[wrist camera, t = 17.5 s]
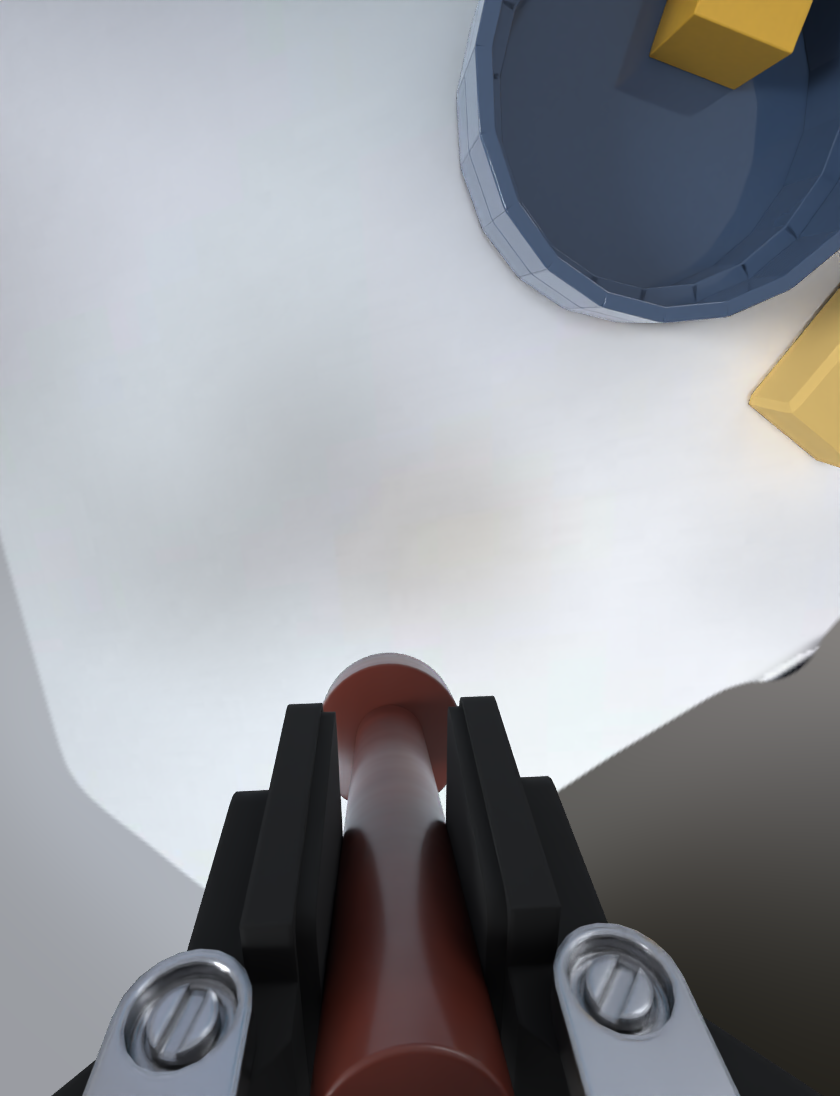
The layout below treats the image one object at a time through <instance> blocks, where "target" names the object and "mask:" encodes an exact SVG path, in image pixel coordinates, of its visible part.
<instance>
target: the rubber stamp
mask: <svg viewBox="0 0 840 1096" xmlns="http://www.w3.org/2000/svg"><path fill="white" fill-rule="evenodd" d="M749 405H750V406H751V407H753V408H754V409H755V410H756V411H757V412H759V413H760V414H761V415H762V416H764V417H765V418H766V419H767V420H768V421H770V422H771V423H772V424H773V425H775V426H776V427H777V428H778V429H779V430H781V431H782V432H783V433H784V434H785V435H787V436H788V437H789V438H790V439H792V440H793V441H794V442H795V443H796V444H798V445H799V446H800V447H801V448H802V449H804V450H805V451H806V452H807V453H809V454H810V455H811V456H812V457H813V458H815V459H816V460H818V461H821V462H824V463H827V464H830V465H833V466H836V467H839V468H840V288H839V289H838V290H837V291H836V292H835V294H834V295H833V296H832V297H831V299H830V300H829V301H828V302H827V303H826V305H825V306H824V307H823V308H822V310H821V311H820V312H819V313H818V314H817V316H816V317H815V318H814V319H813V320H812V322H811V323H810V324H809V325H808V327H807V328H806V329H805V330H804V331H803V333H802V334H801V335H800V336H799V338H798V339H797V340H796V341H795V342H794V344H793V345H792V346H791V347H790V348H789V350H788V351H787V352H786V353H785V355H784V356H783V357H782V358H781V359H780V361H779V362H778V363H777V364H776V366H775V367H774V368H773V369H772V370H771V372H770V373H769V374H768V375H767V376H766V378H765V379H764V380H763V381H762V383H761V384H760V385H759V386H758V387H757V389H756V390H755V391H754V392H753V394H752V395H751V398H750V401H749Z"/></svg>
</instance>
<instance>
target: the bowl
mask: <svg viewBox="0 0 840 1096" xmlns="http://www.w3.org/2000/svg"><path fill="white" fill-rule="evenodd" d="M666 2H667V0H479V2H478V5H477V8H476V11H475V14H474V17H473V20H472V23H471V28H470V33H469V38H468V42H467V47H466V52H465V57H464V61H463V66H462V71H461V76H460V80H459V85H458V90H457V114H458V131H459V149H460V165H461V170H462V173H463V176H464V179H465V181H466V184H467V187H468V190H469V193H470V196H471V199H472V201H473V204H474V207H475V210H476V213H477V216H478V219H479V222H480V224H481V227H482V229H483V231H484V232H485V234H486V235H487V236H488V238H489V239H490V240H491V242H492V243H493V244H494V246H495V247H496V248H497V250H498V251H499V252H500V254H501V255H502V256H503V258H504V259H505V261H506V262H507V263H508V265H509V266H510V267H511V269H512V270H513V271H514V273H515V274H516V275H517V276H518V277H519V279H521V280H522V281H524V282H525V283H527V284H528V285H530V286H531V287H533V288H534V289H536V290H537V291H538V292H540V293H541V294H543V295H544V296H546V297H547V298H549V299H550V300H552V301H553V302H555V303H556V304H557V305H559V306H560V307H562V308H564V309H566V310H570V311H574V312H578V313H582V314H586V315H589V316H593V317H597V318H601V319H605V320H609V321H613V322H634V323H671V322H682V321H692V320H703V319H713V318H723V317H727V316H731V315H734V314H736V313H738V312H740V311H743V310H745V309H747V308H750V307H752V306H754V305H756V304H759V303H761V302H763V301H766V300H768V299H770V298H772V297H775V296H777V295H779V294H782V293H784V292H786V291H789V290H790V289H791V288H793V287H794V286H796V285H797V284H798V283H799V282H800V281H802V280H803V279H804V278H805V277H806V276H808V275H809V274H810V273H811V272H812V271H814V270H815V269H816V268H817V267H819V266H820V265H821V264H822V263H823V262H825V261H826V260H827V259H828V258H829V257H831V256H832V255H833V254H834V253H835V252H837V251H838V250H839V249H840V0H813V2H812V4H811V7H810V9H809V12H808V14H807V17H806V20H805V22H804V25H803V27H802V30H801V32H800V35H799V37H798V40H797V42H796V45H795V47H794V50H793V52H792V54H790V55H789V56H787V57H785V58H784V59H782V60H781V61H779V62H778V63H776V64H774V65H773V66H771V67H770V68H768V69H766V70H765V71H763V72H762V73H760V74H758V75H757V76H755V77H754V78H752V79H751V80H749V81H747V82H746V83H744V84H743V85H741V86H739V87H738V88H736V89H734V90H733V89H731V88H728V87H725V86H723V85H720V84H718V83H715V82H713V81H710V80H708V79H705V78H702V77H700V76H697V75H695V74H692V73H690V72H687V71H684V70H682V69H679V68H677V67H674V66H672V65H669V64H667V63H664V62H661V61H659V60H656V59H654V58H651V57H649V53H650V50H651V47H652V44H653V41H654V38H655V35H656V32H657V29H658V26H659V23H660V20H661V17H662V14H663V11H664V8H665V5H666Z"/></svg>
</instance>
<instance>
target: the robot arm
mask: <svg viewBox="0 0 840 1096" xmlns="http://www.w3.org/2000/svg"><path fill="white" fill-rule="evenodd" d="M446 827H447V831H448V835H449V839H450V843H451V847H452V851H453V855H454V859H455V863H456V867H457V871H458V875H459V879H460V883H461V887H462V891H463V895H464V899H465V903H466V907H467V911H468V915H469V919H470V923H471V927H472V931H473V935H474V939H475V943H476V947H477V951H478V955H479V959H480V963H481V967H482V971H483V975H484V979H485V982H486V985H487V988H488V992H489V995H490V999H491V1003H492V1007H493V1011H494V1015H495V1019H496V1023H497V1027H498V1031H499V1035H500V1039H501V1043H502V1047H503V1051H504V1055H505V1059H506V1063H507V1067H508V1071H509V1075H510V1079H511V1082H512V1086H513V1090H514V1094H515V1096H822V1095H821V1094H819V1093H818V1092H816V1091H815V1090H813V1089H812V1088H810V1087H809V1086H807V1085H806V1084H804V1083H803V1082H801V1081H800V1080H798V1079H797V1078H795V1077H794V1076H792V1075H791V1074H789V1073H788V1072H786V1071H784V1070H783V1069H782V1068H780V1067H778V1066H777V1065H775V1064H774V1063H772V1062H771V1061H769V1060H768V1059H766V1058H765V1057H763V1056H762V1055H760V1054H759V1053H757V1052H756V1051H754V1050H753V1049H751V1048H750V1047H748V1046H747V1045H745V1044H743V1043H742V1042H741V1041H739V1040H737V1039H736V1038H734V1037H733V1036H731V1035H730V1034H728V1033H727V1032H725V1031H724V1030H722V1029H721V1028H719V1027H718V1026H716V1025H715V1024H713V1023H712V1022H710V1021H708V1020H707V1019H706V1018H704V1017H702V1015H701V1013H700V1011H699V1009H698V1006H697V1004H696V1002H695V1000H694V998H693V996H692V994H691V992H690V990H689V987H688V986H687V983H686V981H685V979H684V977H683V975H682V974H681V972H680V971H679V969H678V967H677V966H676V964H675V963H674V961H673V960H672V958H671V957H670V956H669V955H668V954H667V953H666V952H665V951H664V950H663V949H662V948H661V947H660V946H659V945H658V944H657V943H656V942H654V941H653V940H651V939H649V938H648V937H646V936H644V935H643V934H641V933H640V932H638V931H636V930H633V929H630V928H627V927H624V926H621V925H618V924H609V923H608V922H607V920H606V918H605V915H604V912H603V909H602V907H601V904H600V902H599V899H598V897H597V894H596V891H595V889H594V886H593V884H592V881H591V878H590V876H589V873H588V871H587V868H586V865H585V863H584V861H583V858H582V855H581V853H580V850H579V847H578V845H577V842H576V840H575V837H574V834H573V832H572V829H571V827H570V824H569V821H568V819H567V816H566V814H565V811H564V808H563V806H562V803H561V801H560V799H559V796H558V793H557V790H556V788H555V785H554V783H553V781H552V779H551V778H550V777H548V776H540V777H520V775H519V772H518V769H517V766H516V762H515V759H514V756H513V753H512V750H511V747H510V744H509V740H508V737H507V734H506V731H505V728H504V725H503V722H502V718H501V715H500V712H499V709H498V706H497V703H496V700H495V697H494V696H479V697H461V698H460V703H459V706H453V707H448V716H447V783H446ZM342 841H343V831H342V813H341V795H340V777H339V759H338V741H337V723H336V712H324V710H323V704H322V703H311V704H289V705H288V706H287V710H286V714H285V719H284V723H283V728H282V733H281V737H280V742H279V746H278V751H277V755H276V760H275V765H274V769H273V774H272V778H271V783H270V788H269V790H260V791H240V792H236V793H235V794H234V795H233V797H232V800H231V802H230V806H229V809H228V812H227V816H226V819H225V823H224V826H223V830H222V833H221V836H220V840H219V843H218V847H217V850H216V854H215V857H214V860H213V864H212V867H211V871H210V874H209V878H208V881H207V884H206V888H205V891H204V895H203V898H202V902H201V905H200V908H199V912H198V915H197V919H196V922H195V926H194V929H193V933H192V936H191V939H190V943H189V946H188V950H187V951H186V952H181V953H178V954H176V955H174V956H171V957H169V958H167V959H165V960H163V961H161V962H159V963H157V964H156V965H155V966H153V967H152V968H151V969H149V970H148V971H147V972H145V973H144V974H143V975H142V976H140V977H139V978H138V980H136V982H135V983H134V984H133V985H132V986H131V987H130V989H129V990H128V991H127V992H126V993H125V994H124V996H123V997H122V999H121V1001H120V1003H119V1005H118V1007H117V1009H116V1011H115V1013H114V1015H113V1016H112V1019H111V1021H110V1024H109V1027H108V1029H107V1032H106V1035H105V1037H104V1040H103V1043H102V1045H101V1048H100V1050H99V1053H98V1056H97V1058H96V1060H95V1061H94V1062H93V1063H91V1064H90V1065H89V1066H88V1067H86V1068H85V1069H84V1070H83V1071H81V1072H80V1073H79V1074H78V1075H77V1076H75V1077H74V1078H73V1079H72V1080H70V1081H69V1082H68V1083H67V1084H66V1085H64V1086H63V1087H62V1088H61V1089H60V1090H58V1091H57V1092H56V1093H54V1094H53V1095H52V1096H310V1088H311V1081H312V1073H313V1065H314V1058H315V1050H316V1042H317V1034H318V1027H319V1019H320V1011H321V1004H322V996H323V988H324V981H325V973H326V965H327V957H328V950H329V942H330V934H331V927H332V919H333V911H334V903H335V896H336V888H337V880H338V872H339V865H340V857H341V849H342Z"/></svg>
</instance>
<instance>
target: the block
mask: <svg viewBox="0 0 840 1096" xmlns="http://www.w3.org/2000/svg"><path fill="white" fill-rule="evenodd" d="M812 2H813V0H667V2H666V5H665V8H664V11H663V14H662V17H661V20H660V23H659V26H658V29H657V32H656V35H655V38H654V41H653V44H652V47H651V50H650V53H649V57H651V58H654V59H656V60H659V61H661V62H664V63H667V64H669V65H672V66H674V67H677V68H679V69H682V70H684V71H687V72H690V73H692V74H695V75H697V76H700V77H702V78H705V79H708V80H710V81H713V82H715V83H718V84H720V85H723V86H725V87H728V88H731V89H733V90H734V89H736V88H738V87H739V86H741V85H743V84H744V83H746V82H747V81H749V80H751V79H752V78H754V77H755V76H757V75H758V74H760V73H762V72H763V71H765V70H766V69H768V68H770V67H771V66H773V65H774V64H776V63H778V62H779V61H781V60H782V59H784V58H785V57H787V56H789V55H790V54H792V52H793V50H794V47H795V45H796V42H797V40H798V37H799V35H800V32H801V30H802V27H803V25H804V22H805V20H806V17H807V14H808V12H809V9H810V7H811V4H812Z"/></svg>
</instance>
